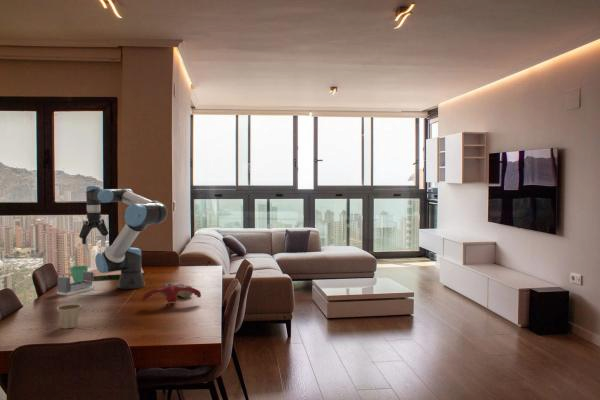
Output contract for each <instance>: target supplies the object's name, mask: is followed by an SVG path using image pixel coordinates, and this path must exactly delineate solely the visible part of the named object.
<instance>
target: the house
mask: <svg viewBox="0 0 600 400" xmlns="http://www.w3.org/2000/svg"><path fill="white" fill-rule="evenodd" d="M141 271H142V276H143V274H145V273H144V270H143V268H141ZM88 272H93V277H94V278H99V277H100V278H102V280H105V278H106V277H107V276H109V275H110V276H113V280H114V279H116V276H117V279H120V275H121V271H115V272H109V273H101V272H99V271H98V269H97V268H96V269H93V270H88ZM104 277H105V278H104ZM143 277H144V276H143Z"/></svg>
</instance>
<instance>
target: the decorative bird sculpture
mask: <svg viewBox="0 0 600 400" xmlns="http://www.w3.org/2000/svg"><path fill="white" fill-rule="evenodd" d="M184 290H185V291H189V292H192V293H193V295H194V296H196V297H197V298H200V299H201V296H202V293H201V291H200V290H198V289H197V288H194V287H192V288H189V287H183V288H182V287H178V286H168V287H166V288H164V287H163V288H157V289H156V288H155V289H152V290H150V291H147V292H146V293H144V294H143V295H142V302H145V301H147V299H149V298H150V297H151V296H152V295H155V294H158V293H163V294H165V295H166V297H165V298H164V299H165V301H167V303H168V307H170V306H171V305H170V303H174V306H177V304H176V302H177V300H178V299H179V297H180V296H177V293H178V292H179V291H184Z"/></svg>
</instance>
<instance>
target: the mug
mask: <svg viewBox="0 0 600 400" xmlns="http://www.w3.org/2000/svg"><path fill="white" fill-rule="evenodd" d="M69 269H70V273H71V277H72V280H73V283H75V282H79V281H86V280H83V271H87V272H89V270H88V269H89V266H88V265H75V266H71V267H69Z"/></svg>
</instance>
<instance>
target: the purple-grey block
mask: <svg viewBox="0 0 600 400" xmlns="http://www.w3.org/2000/svg"><path fill="white" fill-rule="evenodd" d="M83 280H85V281H82V282H79V284H82V283H86V282H93V281H94V274H93V272H89V271H83Z"/></svg>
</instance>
